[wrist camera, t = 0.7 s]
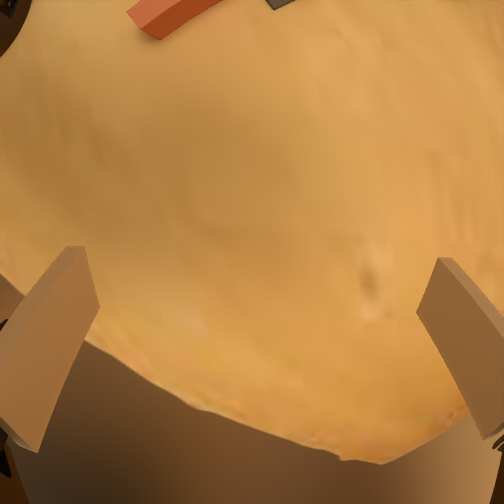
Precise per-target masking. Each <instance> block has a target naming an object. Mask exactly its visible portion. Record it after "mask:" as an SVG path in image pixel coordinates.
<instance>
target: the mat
mask: <svg viewBox="0 0 504 504" xmlns="http://www.w3.org/2000/svg"><path fill="white" fill-rule="evenodd" d="M266 1H267V2H268V3H269V4H270V6H271V7H272V8H273V10H275V9H277V8H280V7H282V6H284V5H286V4H288V3H290V2H292V1H295V0H266Z"/></svg>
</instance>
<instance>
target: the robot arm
mask: <svg viewBox="0 0 504 504" xmlns="http://www.w3.org/2000/svg"><path fill="white" fill-rule="evenodd" d="M30 3H31V0H0V56H1V55H2V54H3V53H4V52H5V51H6V49H7V48H8V47H9V46H10V44H11V43H12V41H13V40H14V38H15V37H16V35H17V34H18V32H19V30H20V28H21V26H22V24H23V22H24V20H25V18H26V15H27V13H28V10H29V7H30ZM99 308H100V305H99V302H98V298H97V295H96V291H95V288H94V284H93V280H92V276H91V273H90V269H89V265H88V260H87V256H86V252H85V248H84V247H80V246H67V247H66V248H65V249H64V250H63V251H62V253H61V254H60V255H59V256H58V257H57V258H56V260H55V261H54V262H53V263H52V264H51V265H50V267H49V268H48V269H47V270H46V271H45V273H44V274H43V275H42V276H41V278H40V279H39V280H38V281H37V283H36V284H35V285H34V286H33V288H32V289H31V290H30V291H29V293H28V294H27V295H26V297H25V298H24V299H23V301H22V302H21V303H20V305H19V306H18V307H17V309H16V310H15V311H14V313H13V314H12V316H11V317H10V318H9V319H6V320H4V322H2V323H1V324H0V504H30V503H29V500H28V498H27V496H26V493H25V490H24V488H23V485H22V482H21V480H20V477H19V474H18V471H17V468H16V465H15V462H14V459H13V456H12V452H11V449H10V447H9V445H8V444H7V443H6V440H7V437H8V436H9V437H10V438H11V439H12V440H13V441H14V442H15V443H17V444H18V445H19V446H22V447H24V448H26V449H28V450H31V451H33V452H36V453H38V450H39V447H40V444H41V441H42V439H43V436H44V433H45V430H46V427H47V425H48V422H49V419H50V417H51V414H52V412H53V409H54V406H55V404H56V401H57V399H58V396H59V394H60V392H61V389H62V387H63V384H64V382H65V380H66V378H67V375H68V373H69V371H70V368H71V366H72V364H73V362H74V360H75V357H76V355H77V353H78V351H79V349H80V347H81V345H82V342H83V340H84V338H85V336H86V334H87V332H88V330H89V328H90V326H91V324H92V322H93V320H94V318H95V316H96V314H97V312H98V310H99ZM416 313H417V315H418V316H419V318H420V320H421V321H422V323H423V325H424V326H425V328H426V330H427V331H428V333H429V335H430V336H431V338H432V340H433V342H434V343H435V345H436V347H437V349H438V350H439V352H440V354H441V356H442V358H443V359H444V361H445V363H446V365H447V367H448V369H449V371H450V372H451V374H452V376H453V378H454V380H455V382H456V384H457V386H458V388H459V390H460V392H461V394H462V396H463V398H464V400H465V402H466V404H467V406H468V408H469V410H470V412H471V415H472V417H473V419H474V421H475V423H476V425H477V428H478V430H479V432H480V435H481V437H482V439H483V441H484V440H486V439H488V438H490V437H492V436H495V435H496V434H498V433H499V432H500V431H501V430H502V429H503V428H504V318H503V317H502V315H501V314H500V313H499V311H498V310H497V309H496V308H495V306H494V305H493V304H492V303H491V302H490V300H489V299H488V298H487V297H486V296H485V294H484V293H483V292H482V291H481V290H480V289H479V287H478V286H477V285H476V284H475V283H474V282H473V281H472V279H471V278H470V277H469V276H468V275H467V274H466V273H465V272H464V271H463V269H462V268H461V267H460V266H459V265H458V264H457V263H456V262H455V261H454V260H453V259H452V258H441V257H438V259H437V261H436V264H435V267H434V270H433V272H432V275H431V278H430V280H429V283H428V285H427V288H426V290H425V293H424V295H423V298H422V300H421V302H420V305H419V307H418V309H417V312H416ZM503 441H504V435H503V436H501V437H500V438H499V439H498V440H497V441H496V442H495V443H494V445H493V447H492V449H495V448H496V447H497V446H498V445H500V443H502V442H503ZM497 450H498V451H501V452H502V456H501V461H500V466H499V470H498V475H497V479H496V483H495V486H494V490H493V494H492V497H491V501H490V504H504V443H503V444H502V445H501V446H500V447H499V448H498V449H497Z"/></svg>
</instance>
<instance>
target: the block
mask: <svg viewBox="0 0 504 504" xmlns="http://www.w3.org/2000/svg"><path fill="white" fill-rule="evenodd" d="M220 1H222V0H141V1H140V2H138V3H137V4H136V5H134V6H133V7H132V8H130V9H129V10H128V11H126V12H127V13H128V15H129V16H130V17H131V18H132V20H133V21H134V22H135V23H136V25H137V26H138V27H139V28H140V29H141V30H143V31H145V32H146V33H148V34H150V35H152V36H154V37H156V38H157V39H159V40H161V39H163V38H164V37H166V36H167V35H168V34H170V33H171V32H173V31H174V30H176V29H177V28H178V27H180V26H181V25H183V24H184V23H186V22H187V21H189V20H191V19H192V18H194V17H195V16H197V15H198V14H200V13H202V12H203V11H205V10H207V9H208V8H210V7H212V6H213V5H215V4H217V3H218V2H220Z"/></svg>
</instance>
